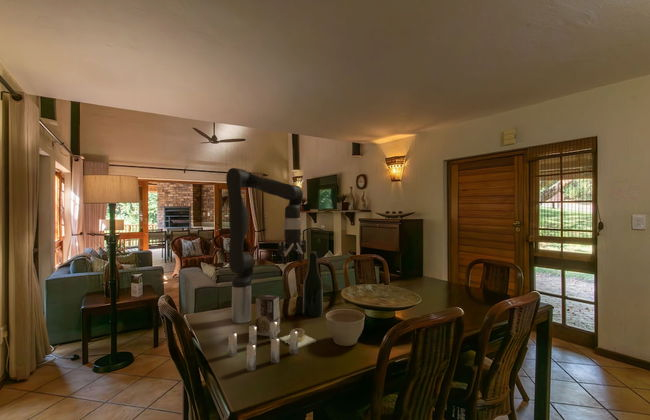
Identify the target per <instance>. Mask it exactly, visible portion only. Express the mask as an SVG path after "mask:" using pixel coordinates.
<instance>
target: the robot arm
mask: <svg viewBox="0 0 650 420" xmlns="http://www.w3.org/2000/svg"><path fill="white" fill-rule="evenodd" d="M225 176H226V177H225V182H226V189H227V190H226V191H227V196H228V198H227V199H228V210H229V211H228V213H229V214H228V216H229V217H228V220H229V221H228V223H229V225H228V226H229V252H228V254H229V255H228V267H229V269H230V271H231V272H232V273H233V274H236V276H235V277H234V278H233V279H232V280H231V281H232V282H231V322H232V323H234V324H245V323H249V322H250V321H251V320H252V280H253V278H254V259H253V256H252V254H250V253H249V252H244V242H245V239H246V236H247V233H248V230H249V226H250V225H249V224H250V222H249V211H248V209H247V206H246V205H245V202H244V200H243V197H242V189H243V188H247V189H248V188H251V189H255V190H258V191H260V192H263V193H266V194H268V195H272V196H276V197H279V198H282V199H284V200H289V201H288V205H287V206H285V209H284V224H283V225H284V226H283V227H284V233H283V235H284V236H283V237H284V241H279V242H278V249H277V254H278V255H279V256H281V263H282V265H288V254H289V253H290V252H291V251H296V252H297V263H302V262H303V260H304V259H303V255H304V254H306V253H307V242H306V240H305V239H301V238H302V237H301V234H302V232H301V231H302V230H301V229H302V227H301V225H302V223H301V207H302V204H303V199H304V198H303V197H304V194H303V188H301V187H300V186H299V185H295V184H290V183H285V182H283V181H279V180H276V179H272V178H267V177H262V176H258V175H255V174H254V173H251V172H249V171H247V170H245V169H242V168H236V167H230V169H228V171H227V172H226V175H225Z"/></svg>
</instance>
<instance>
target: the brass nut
mask: <svg viewBox="0 0 650 420" xmlns="http://www.w3.org/2000/svg"><path fill="white" fill-rule="evenodd" d="M292 330H296V331H298V342H299V341H303V340H304V339H305V335H306V333H305V332H306V330H305V329H304V328H301V327H300V328H299V327H298V328H293V329H292Z"/></svg>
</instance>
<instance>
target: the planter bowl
mask: <svg viewBox="0 0 650 420" xmlns="http://www.w3.org/2000/svg"><path fill="white" fill-rule="evenodd" d="M365 318H366V316H365V314H364V313H363V312H361V311H359V310H354V309H350V308H349V309H347V308H345V309H343V308H341V309H335V310H331V311H328V312H327V313H326V314H325V319H326V326H327V330H328V332H329V334H330V336H331V337H332V338H333V342H334V343H335V344H336V345H338V346H343V347H346V346H347V347H348V346H349V347H350V346H353V345H355V344H357V342H358V339H359V337H360V336H361V335H362V332H363V330H364V325H365Z"/></svg>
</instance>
